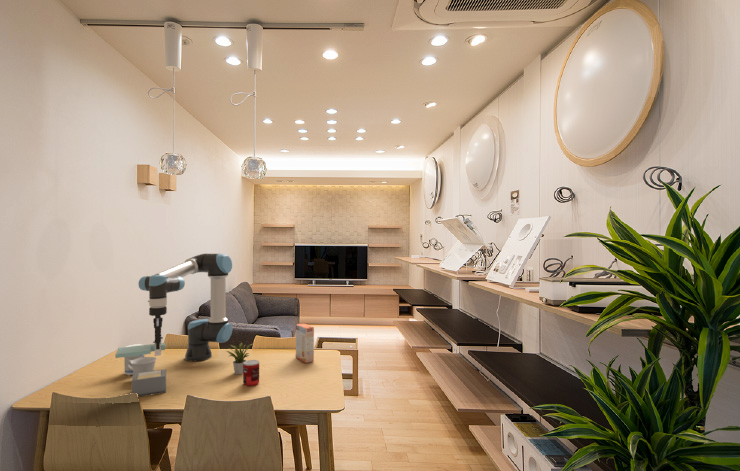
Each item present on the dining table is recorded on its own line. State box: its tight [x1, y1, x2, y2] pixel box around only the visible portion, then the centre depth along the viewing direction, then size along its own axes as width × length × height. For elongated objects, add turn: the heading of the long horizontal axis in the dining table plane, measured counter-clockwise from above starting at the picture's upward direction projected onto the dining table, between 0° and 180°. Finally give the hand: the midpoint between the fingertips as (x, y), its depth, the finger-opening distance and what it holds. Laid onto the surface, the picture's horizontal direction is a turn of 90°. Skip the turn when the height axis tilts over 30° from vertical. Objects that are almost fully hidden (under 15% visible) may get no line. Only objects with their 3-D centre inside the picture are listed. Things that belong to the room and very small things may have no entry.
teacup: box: [127, 356, 158, 374], centre depth 205 cm, size 12×15×10 cm
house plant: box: [226, 342, 253, 375], centre depth 216 cm, size 14×14×16 cm
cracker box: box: [295, 322, 315, 364], centre depth 237 cm, size 14×6×21 cm, turn 34°
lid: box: [115, 342, 166, 359], centre depth 187 cm, size 20×12×2 cm, turn 117°
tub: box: [131, 368, 167, 398], centre depth 189 cm, size 14×11×8 cm
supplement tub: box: [123, 343, 145, 376], centre depth 214 cm, size 10×10×15 cm
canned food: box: [242, 359, 260, 387], centre depth 199 cm, size 8×8×11 cm
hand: (158, 354), depth 191 cm, fingers closed on lid, 4 cm apart
